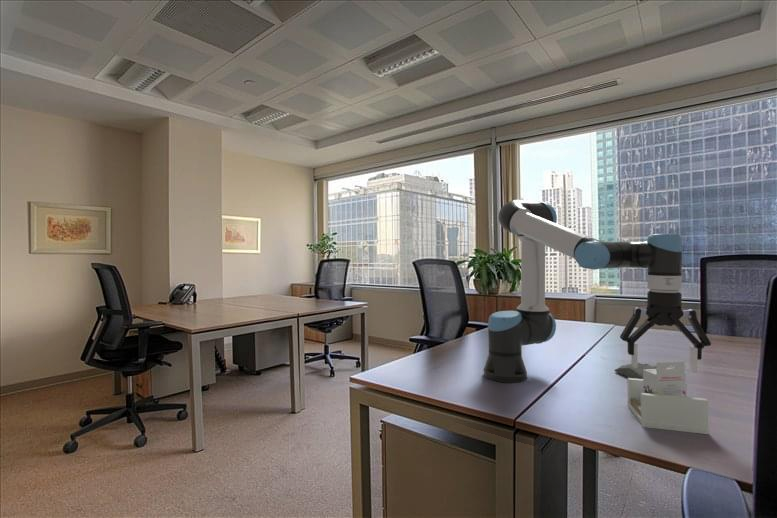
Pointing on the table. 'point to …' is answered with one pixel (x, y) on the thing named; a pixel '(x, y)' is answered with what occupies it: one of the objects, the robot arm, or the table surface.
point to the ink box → (665, 379)
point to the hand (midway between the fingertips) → (663, 369)
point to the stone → (633, 370)
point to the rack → (667, 410)
